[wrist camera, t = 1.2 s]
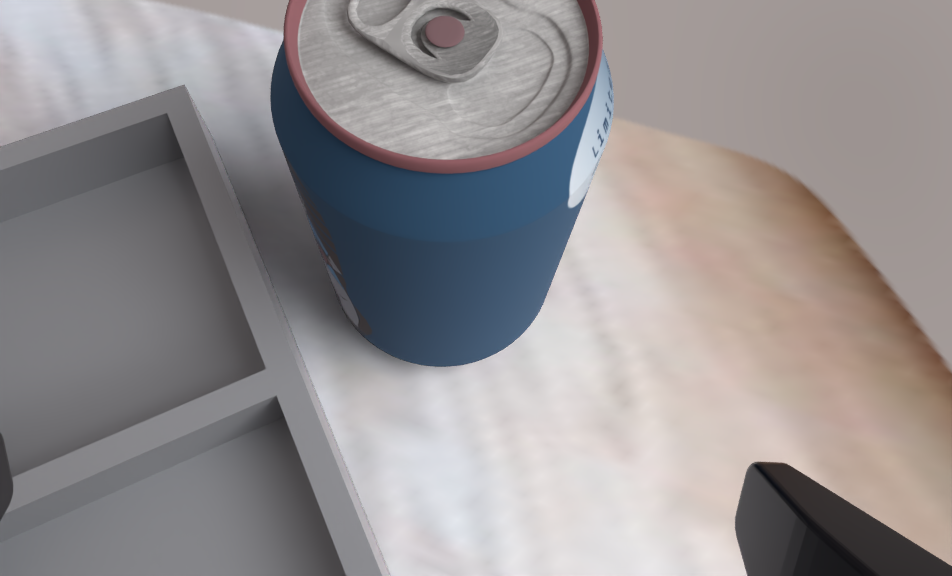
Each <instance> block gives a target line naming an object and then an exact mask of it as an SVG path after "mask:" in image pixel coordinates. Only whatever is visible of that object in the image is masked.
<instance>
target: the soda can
mask: <svg viewBox="0 0 952 576" xmlns="http://www.w3.org/2000/svg"><path fill="white" fill-rule="evenodd" d="M602 41H603V37H602V26H601V20H600V16H599V12H598V9H597V6H596V3H595V0H289V3H288V6H287V10H286V15H285V22H284V40H283V42H282V45H281V47H280V49H279V52H278V55H277V58H276V61H275V65H274V70H273V74H272V82H271V112H272V117H273V123H274V127H275V130H276V134H277V137H278V139H279V142H280V145H281V147H282V150H283V153H284V156H285V158H286V161H287V164H288V166H289V169H290V172H291V174H292V177H293V180H294V182H295V185H296V188H297V190H298V193H299V196H300V198H301V201H302V204H303V207H304V209H305V212H306V215H307V217H308V220H309V223H310V225H311V228H312V231H313V233H314V236H315V239H316V241H317V244H318V247H319V249H320V252H321V255H322V258H323V260H324V263H325V266H326V268H327V271H328V274H329V276H330V279H331V282H332V284H333V287H334V290H335V292H336V295H337V298H338V300H339V303H340V305H341V307H342V309H343V311H344V313H345V314H346V316H347V318H348V319H349V320H350V322H351V323H352V324H353V326H354V327H355V328H356V329H357V330H358V331H359V332H360V333H361V334H362V335H363V336H364V337H365V338H366V339H367V340H368V341H369V342H371V343H372V344H373V345H375V346H376V347H378V348H379V349H381V350H382V351H384V352H386V353H388V354H390V355H392V356H394V357H396V358H399V359H401V360H404V361H407V362H411V363H415V364H419V365H426V366H436V367H447V366H458V365H464V364H468V363H473V362H476V361H479V360H482V359H485V358H487V357H489V356H491V355H494V354H496V353H497V352H499V351H501V350H503V349H504V348H506V347H507V346H509V345H510V344H511V343H513V342H514V341H515V340H516V339H517V338H519V337H520V336H521V335H522V334H523V333H524V332H525V330H526V329H527V328H528V327H529V326H530V325H531V323H532V322H533V321H534V319H535V318H536V316H537V314H538V313H539V311H540V309H541V307H542V305H543V303H544V300H545V298H546V295H547V293H548V290H549V287H550V285H551V282H552V280H553V277H554V275H555V272H556V270H557V267H558V265H559V262H560V260H561V257H562V254H563V252H564V249H565V247H566V244H567V242H568V239H569V237H570V234H571V232H572V229H573V227H574V224H575V221H576V219H577V216H578V214H579V211H580V209H581V206H582V204H583V201H584V199H585V196H586V194H587V191H588V189H589V186H590V183H591V181H592V178H593V176H594V173H595V171H596V168H597V166H598V163H599V161H600V158H601V156H602V153H603V150H604V148H605V145H606V143H607V140H608V136H609V133H610V129H611V124H612V119H613V109H614V105H613V103H614V100H613V99H614V95H613V85H612V79H611V74H610V70H609V66H608V63H607V59H606V56H605V54H604V51H603V48H602V44H603V43H602Z"/></svg>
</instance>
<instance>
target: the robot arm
mask: <svg viewBox="0 0 952 576" xmlns="http://www.w3.org/2000/svg"><path fill="white" fill-rule="evenodd" d="M12 495H13V479H12V475H11V470H10V466H9V461H8V456H7V452H6V447H5V443H4V439H3V436H2V434H1V432H0V521H1V519H2V518H3V516H4V514H5V512H6V510H7V509H8V507H9V504H10V502H11V499H12ZM735 530H736V536H737V540H738V544H739V547H740V551H741V555H742V558H743V562H744V565H745V569H746V573H747V576H952V566H951V565H949V564H947V563H946V562H944V561H943V560H941V559H939V558H938V557H936V556H934V555H933V554H931V553H930V552H928V551H926V550H925V549H923V548H922V547H920V546H918V545H917V544H915V543H914V542H912V541H910V540H909V539H907V538H905V537H904V536H902V535H901V534H899V533H897V532H896V531H894V530H893V529H891V528H889V527H888V526H886V525H885V524H883V523H881V522H880V521H878V520H877V519H875V518H873V517H872V516H870V515H869V514H867V513H865V512H864V511H862V510H860V509H859V508H857V507H856V506H854V505H852V504H851V503H849V502H848V501H846V500H844V499H843V498H841V497H840V496H838V495H836V494H835V493H833V492H832V491H830V490H828V489H827V488H825V487H823V486H822V485H820V484H819V483H817V482H815V481H814V480H812V479H811V478H809V477H807V476H806V475H804V474H803V473H801V472H799V471H798V470H796V469H795V468H793V467H791V466H790V465H788V464H785V463H778V462H754V463H752V464H751V465H750V466H749V467H748V469H747V472H746V475H745V479H744V483H743V487H742V491H741V495H740V499H739V504H738V508H737V512H736V517H735Z"/></svg>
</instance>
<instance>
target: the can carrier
mask: <svg viewBox="0 0 952 576" xmlns="http://www.w3.org/2000/svg"><path fill="white" fill-rule="evenodd" d="M0 432H1V434H2V436H3V439H4V443H5V447H6V452H7V456H8V461H9V466H10V470H11V475H12V479H13V495H12V499H11V502H10V504H9V507H8V509H7V510H6V512H5V514H4V516H3V518H2V519H1V521H0V576H391V575H390V573H389V571H388V568H387V566H386V563H385V561H384V558H383V556H382V553H381V551H380V548H379V546H378V543H377V541H376V539H375V536H374V534H373V531H372V529H371V526H370V524H369V521H368V519H367V516H366V514H365V511H364V509H363V507H362V504H361V502H360V499H359V497H358V494H357V492H356V489H355V487H354V484H353V482H352V480H351V477H350V475H349V472H348V470H347V467H346V465H345V462H344V460H343V457H342V455H341V452H340V450H339V448H338V445H337V443H336V440H335V438H334V435H333V433H332V430H331V428H330V425H329V423H328V420H327V418H326V416H325V413H324V411H323V408H322V406H321V403H320V401H319V398H318V396H317V393H316V391H315V388H314V386H313V384H312V381H311V379H310V376H309V374H308V371H307V369H306V366H305V364H304V361H303V359H302V357H301V354H300V352H299V349H298V347H297V344H296V342H295V339H294V337H293V334H292V332H291V329H290V327H289V325H288V322H287V320H286V317H285V315H284V312H283V310H282V307H281V305H280V302H279V300H278V297H277V295H276V293H275V290H274V288H273V285H272V283H271V280H270V278H269V275H268V273H267V270H266V268H265V265H264V263H263V261H262V258H261V256H260V253H259V251H258V248H257V246H256V243H255V241H254V238H253V236H252V233H251V231H250V229H249V226H248V224H247V221H246V219H245V216H244V214H243V211H242V209H241V206H240V204H239V202H238V199H237V197H236V194H235V192H234V189H233V187H232V184H231V182H230V179H229V177H228V174H227V172H226V170H225V167H224V165H223V162H222V160H221V157H220V155H219V152H218V150H217V147H216V145H215V142H214V140H213V138H212V136H211V134H210V132H209V130H208V128H207V126H206V124H205V122H204V121H203V119H202V117H201V115H200V113H199V111H198V109H197V107H196V106H195V104H194V102H193V100H192V98H191V96H190V94H189V92H188V90H187V89H186V87H185V85H182V86H179V87H176V88H173V89H170V90H167V91H164V92H161V93H158V94H155V95H152V96H149V97H146V98H143V99H141V100H138V101H135V102H132V103H129V104H126V105H123V106H120V107H117V108H114V109H111V110H108V111H105V112H102V113H99V114H96V115H93V116H90V117H87V118H84V119H81V120H79V121H76V122H73V123H70V124H67V125H64V126H61V127H58V128H55V129H52V130H49V131H46V132H43V133H40V134H37V135H34V136H31V137H28V138H25V139H22V140H19V141H16V142H14V143H11V144H8V145H5V146H2V147H0Z"/></svg>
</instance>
